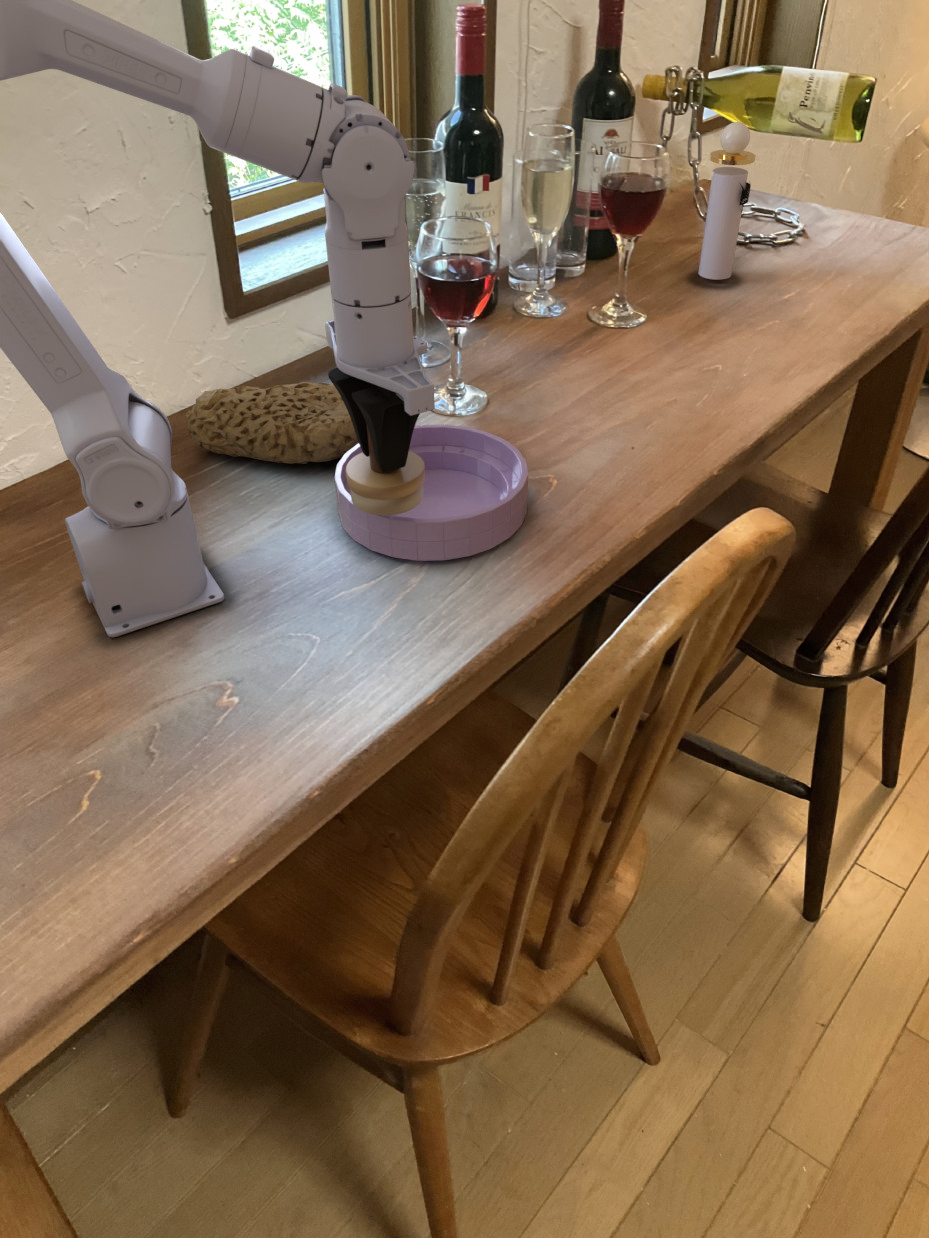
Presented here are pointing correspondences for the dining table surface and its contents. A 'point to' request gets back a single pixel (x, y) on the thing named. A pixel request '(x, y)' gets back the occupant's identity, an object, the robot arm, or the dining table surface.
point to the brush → (385, 484)
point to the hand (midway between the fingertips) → (384, 460)
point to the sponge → (274, 423)
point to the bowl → (446, 497)
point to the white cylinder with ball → (725, 203)
